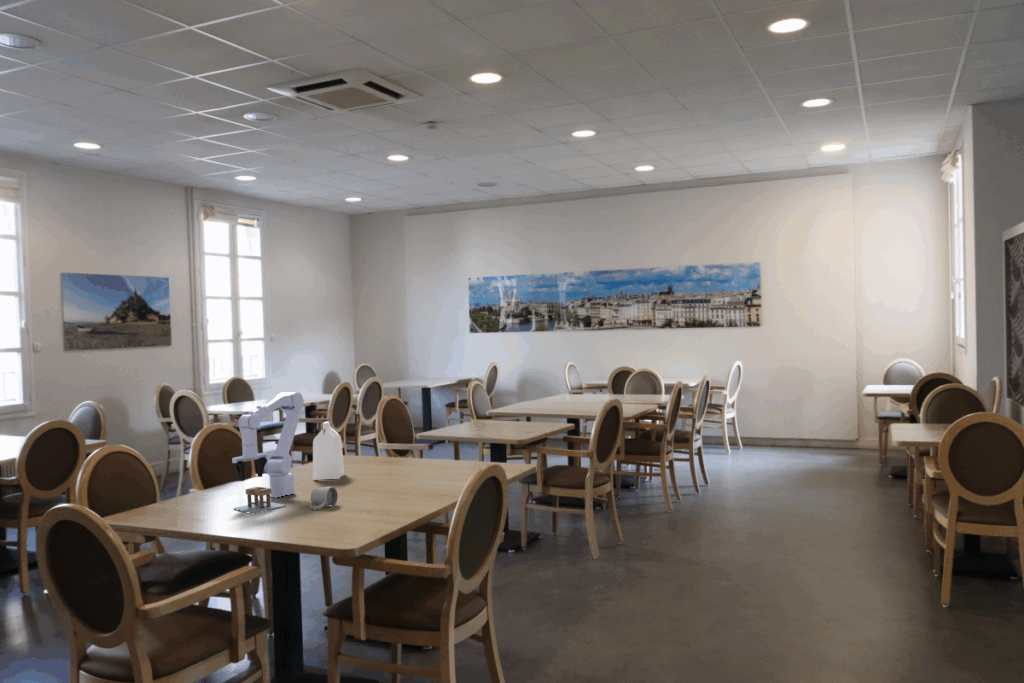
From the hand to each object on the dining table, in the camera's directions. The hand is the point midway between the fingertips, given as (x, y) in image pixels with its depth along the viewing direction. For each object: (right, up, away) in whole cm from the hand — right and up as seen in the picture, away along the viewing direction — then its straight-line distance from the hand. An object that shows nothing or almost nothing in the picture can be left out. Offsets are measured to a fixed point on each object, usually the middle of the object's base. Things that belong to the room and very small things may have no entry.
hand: (251, 478), depth 306 cm
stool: (+6, -10, -8) cm, 14 cm away
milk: (+19, -9, +51) cm, 55 cm away
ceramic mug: (+31, -9, -11) cm, 35 cm away
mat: (+6, -10, -8) cm, 14 cm away
